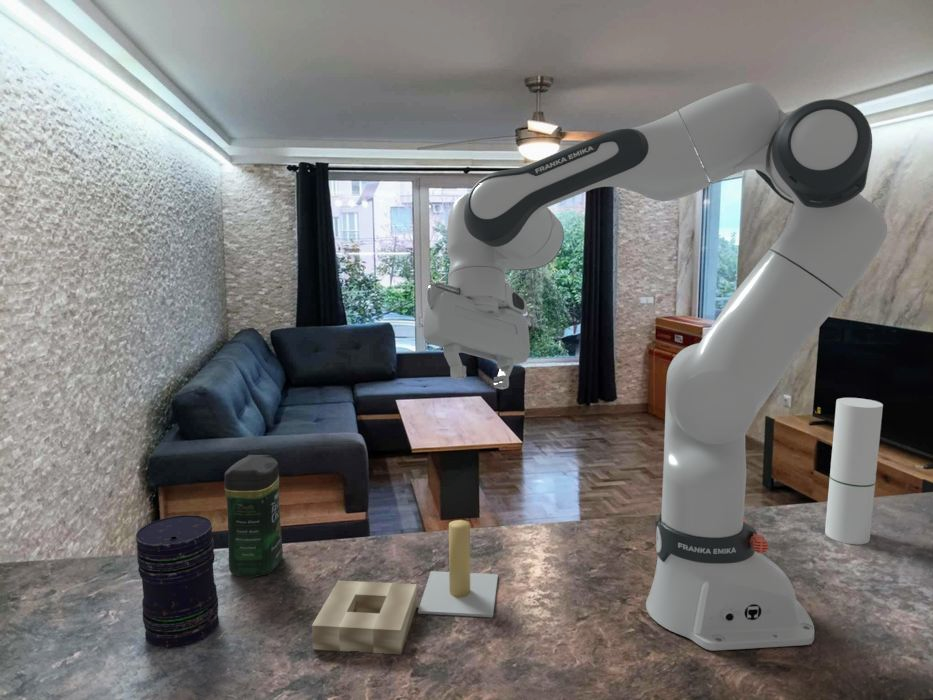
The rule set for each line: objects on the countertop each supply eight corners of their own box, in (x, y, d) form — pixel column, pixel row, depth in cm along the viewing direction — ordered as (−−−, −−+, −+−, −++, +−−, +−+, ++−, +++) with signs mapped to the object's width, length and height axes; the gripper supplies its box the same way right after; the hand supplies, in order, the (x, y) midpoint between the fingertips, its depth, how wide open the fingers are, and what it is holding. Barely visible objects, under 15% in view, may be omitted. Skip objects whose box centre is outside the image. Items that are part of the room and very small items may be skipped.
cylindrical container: (870, 532, 126) (883, 400, 122) (868, 547, 120) (882, 409, 116) (826, 524, 130) (838, 396, 125) (823, 538, 124) (834, 404, 119)
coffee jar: (272, 580, 110) (265, 470, 107) (223, 579, 110) (215, 469, 107) (289, 552, 120) (283, 450, 117) (244, 552, 120) (237, 450, 117)
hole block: (417, 605, 102) (416, 584, 102) (400, 654, 90) (400, 630, 90) (338, 601, 103) (337, 580, 103) (313, 649, 92) (311, 625, 91)
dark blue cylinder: (147, 617, 100) (138, 520, 97) (219, 604, 103) (212, 510, 100) (141, 656, 90) (131, 550, 88) (220, 640, 94) (212, 538, 91)
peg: (471, 586, 107) (470, 520, 105) (469, 597, 104) (468, 529, 102) (451, 585, 107) (450, 519, 105) (448, 596, 104) (447, 528, 102)
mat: (497, 576, 111) (497, 574, 111) (492, 617, 99) (492, 614, 99) (430, 573, 112) (430, 571, 112) (418, 613, 100) (417, 610, 100)
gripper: (443, 271, 95) (446, 367, 91) (534, 305, 109) (539, 389, 105) (412, 284, 99) (414, 376, 95) (504, 315, 114) (508, 396, 110)
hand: (480, 383), depth 100 cm, fingers open, 8 cm apart
